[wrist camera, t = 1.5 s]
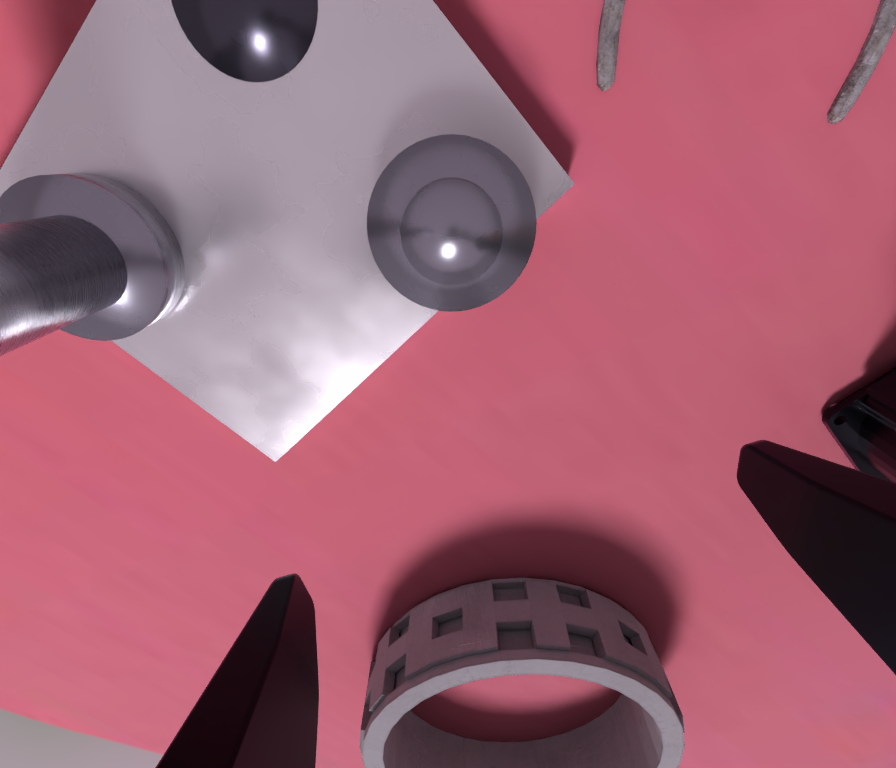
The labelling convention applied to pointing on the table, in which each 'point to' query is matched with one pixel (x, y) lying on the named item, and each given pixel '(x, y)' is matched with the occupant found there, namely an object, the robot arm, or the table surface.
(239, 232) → the plate
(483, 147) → the grey metal knob
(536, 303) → the table surface
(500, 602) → the ring
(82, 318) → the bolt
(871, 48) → the pliers
